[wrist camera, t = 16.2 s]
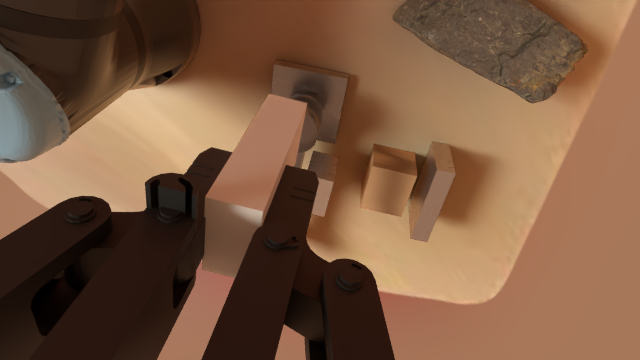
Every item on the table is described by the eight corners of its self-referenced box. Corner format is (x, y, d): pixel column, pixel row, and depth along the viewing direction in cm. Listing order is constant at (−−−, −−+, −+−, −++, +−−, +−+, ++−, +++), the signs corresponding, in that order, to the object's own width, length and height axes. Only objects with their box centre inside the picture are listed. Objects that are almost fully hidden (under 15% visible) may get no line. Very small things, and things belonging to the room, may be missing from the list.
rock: (626, -8, 33) (572, 113, 36) (580, -2, 39) (538, 100, 43) (418, -58, 32) (384, 69, 36) (406, -44, 39) (378, 63, 42)
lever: (261, 239, 57) (249, 272, 52) (286, 88, 43) (273, 113, 38) (312, 252, 57) (304, 286, 52) (353, 105, 43) (348, 131, 38)
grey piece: (266, 177, 54) (253, 205, 49) (276, 59, 45) (263, 80, 40) (423, 210, 54) (426, 242, 49) (467, 97, 44) (477, 123, 39)
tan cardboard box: (362, 183, 53) (359, 207, 49) (373, 143, 49) (372, 166, 45) (400, 191, 53) (401, 216, 49) (414, 152, 49) (417, 176, 45)
